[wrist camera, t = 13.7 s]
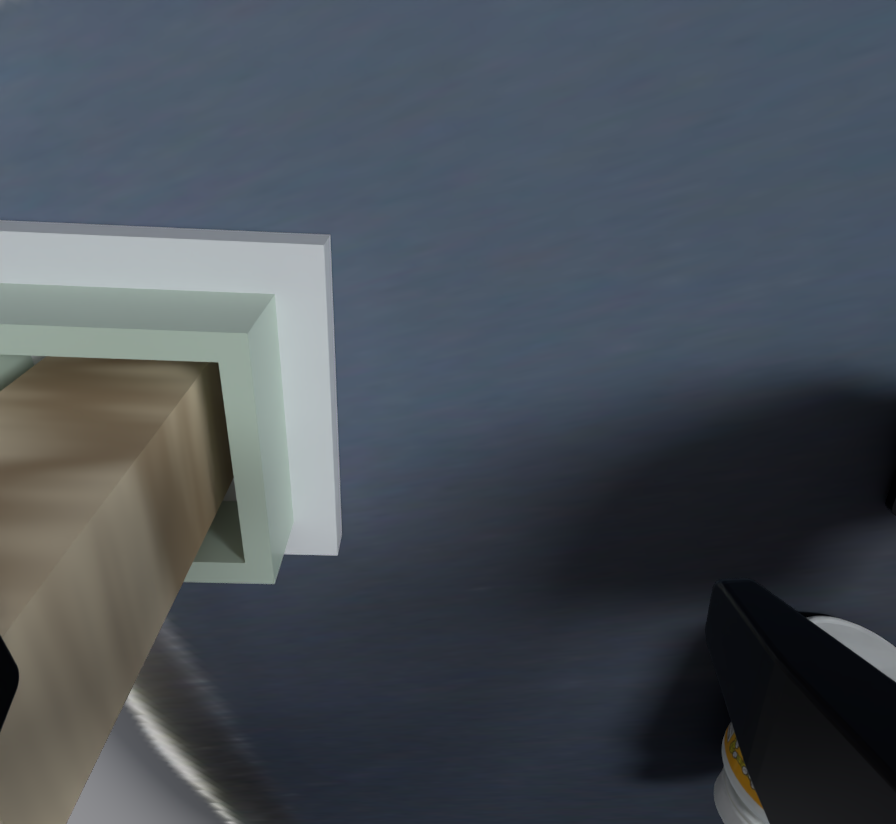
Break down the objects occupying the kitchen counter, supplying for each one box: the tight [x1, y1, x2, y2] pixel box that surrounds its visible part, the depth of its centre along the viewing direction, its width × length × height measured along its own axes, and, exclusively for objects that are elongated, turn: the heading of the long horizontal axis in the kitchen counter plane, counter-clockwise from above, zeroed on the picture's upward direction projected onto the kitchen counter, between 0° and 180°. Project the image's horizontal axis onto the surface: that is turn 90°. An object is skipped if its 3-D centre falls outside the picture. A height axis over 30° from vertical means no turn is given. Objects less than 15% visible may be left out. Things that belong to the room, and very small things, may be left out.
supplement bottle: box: [714, 616, 896, 824], centre depth 26 cm, size 5×5×10 cm
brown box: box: [0, 356, 234, 824], centre depth 15 cm, size 4×4×12 cm
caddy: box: [0, 220, 342, 584], centre depth 19 cm, size 11×11×4 cm
